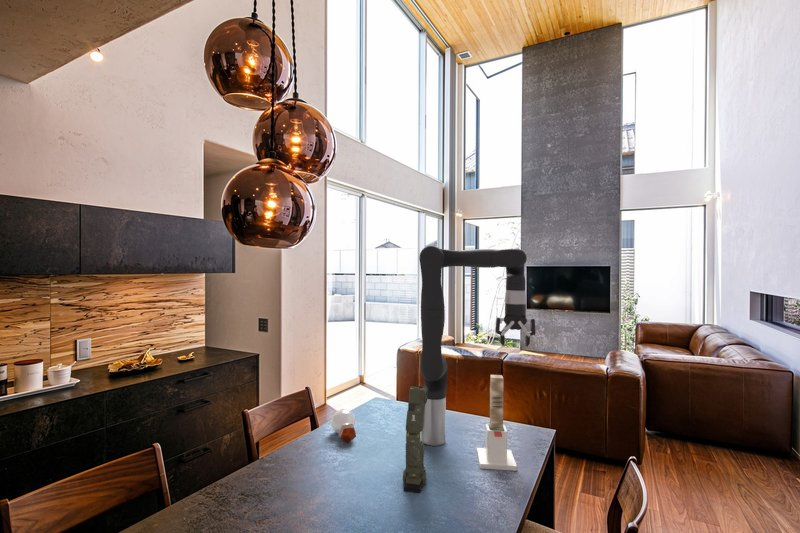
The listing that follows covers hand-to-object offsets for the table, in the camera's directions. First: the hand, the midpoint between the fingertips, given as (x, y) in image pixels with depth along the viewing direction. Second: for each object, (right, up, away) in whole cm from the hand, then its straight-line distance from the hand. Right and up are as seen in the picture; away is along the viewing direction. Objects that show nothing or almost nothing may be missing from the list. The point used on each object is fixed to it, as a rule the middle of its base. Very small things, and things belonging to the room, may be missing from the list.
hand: (514, 345), depth 148 cm
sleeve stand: (-10, -38, -10) cm, 40 cm away
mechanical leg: (-38, -38, -24) cm, 59 cm away
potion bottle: (-65, -38, +8) cm, 75 cm away
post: (-10, -30, -10) cm, 33 cm away
